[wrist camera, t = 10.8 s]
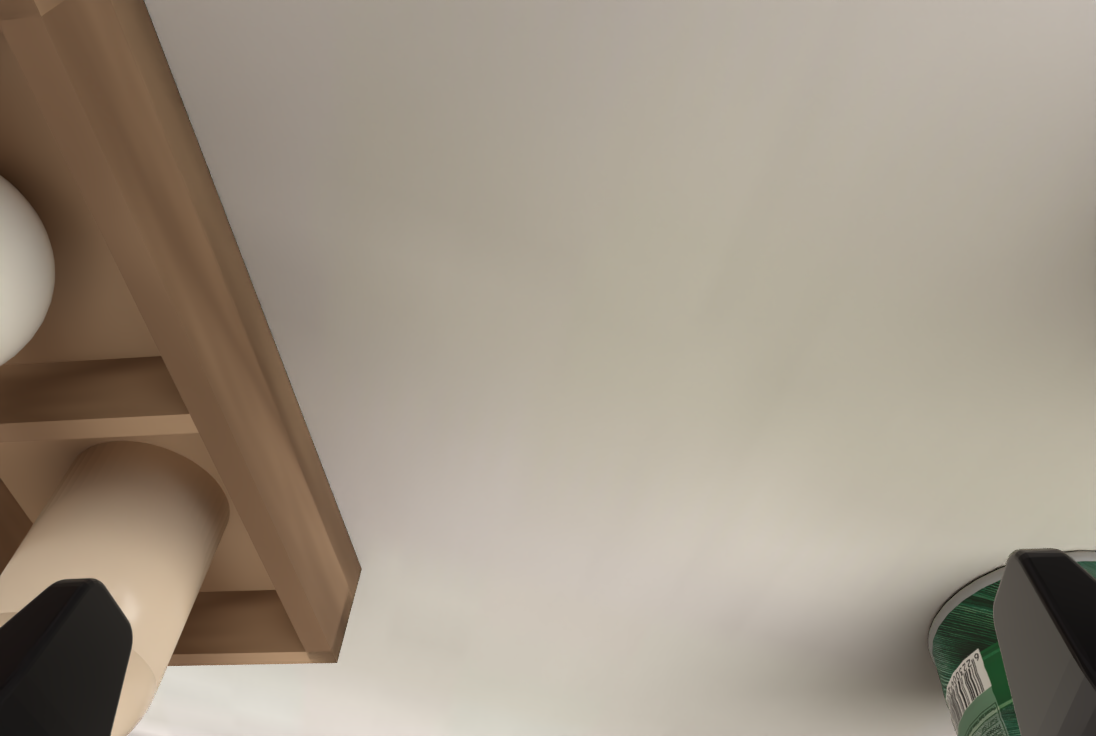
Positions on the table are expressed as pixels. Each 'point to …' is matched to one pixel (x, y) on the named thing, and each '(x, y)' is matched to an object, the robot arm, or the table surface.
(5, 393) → the crate
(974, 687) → the canned tomato
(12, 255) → the ball
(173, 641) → the cylinder
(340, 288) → the table surface
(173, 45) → the table surface
